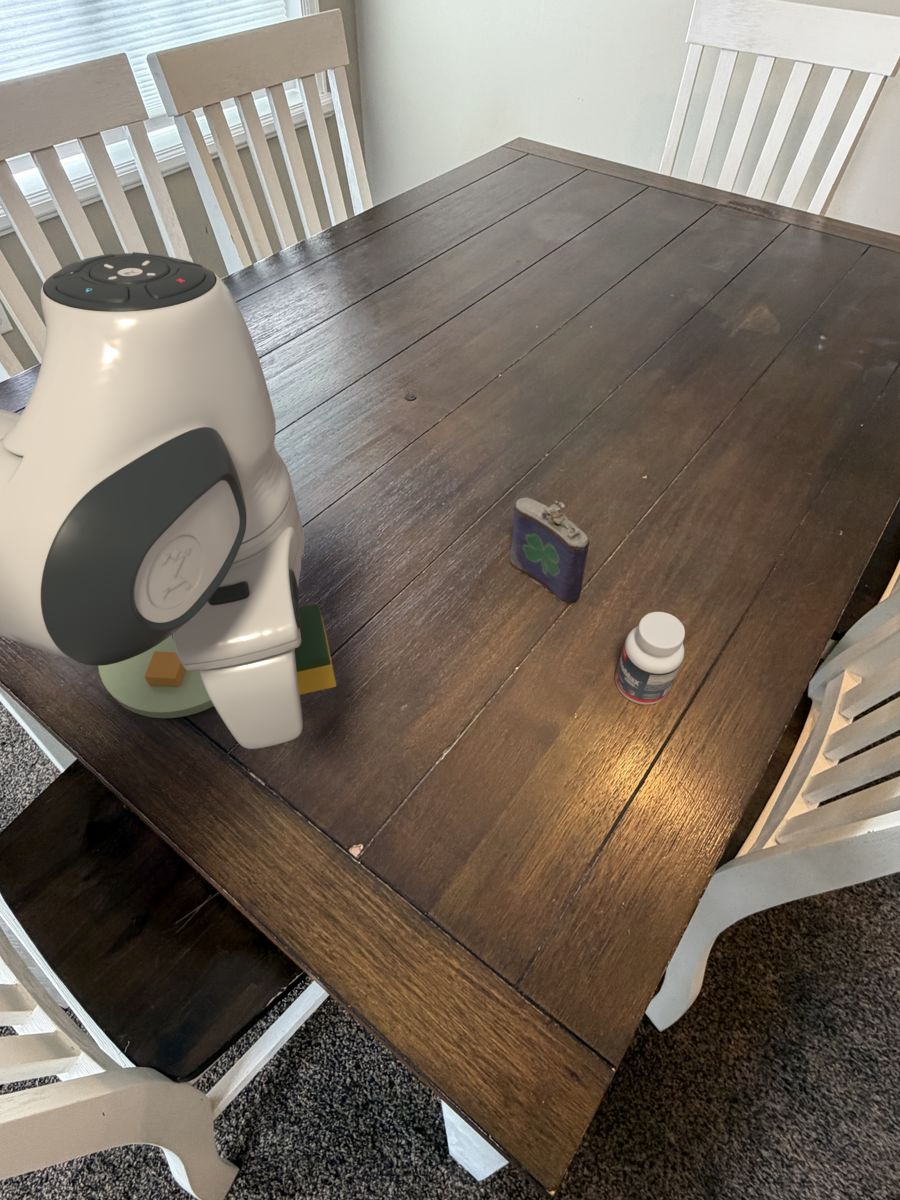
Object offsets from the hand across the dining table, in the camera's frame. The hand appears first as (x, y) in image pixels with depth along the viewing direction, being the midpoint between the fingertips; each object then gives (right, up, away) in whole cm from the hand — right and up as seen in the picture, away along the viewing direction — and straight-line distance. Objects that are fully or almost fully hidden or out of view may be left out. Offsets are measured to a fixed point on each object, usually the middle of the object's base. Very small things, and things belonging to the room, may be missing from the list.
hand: (273, 660), depth 54 cm
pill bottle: (+32, -4, +17) cm, 36 cm away
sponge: (0, -1, +1) cm, 2 cm away
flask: (+23, +7, +25) cm, 35 cm away
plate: (-14, 0, +20) cm, 24 cm away
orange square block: (-14, -3, +16) cm, 22 cm away
